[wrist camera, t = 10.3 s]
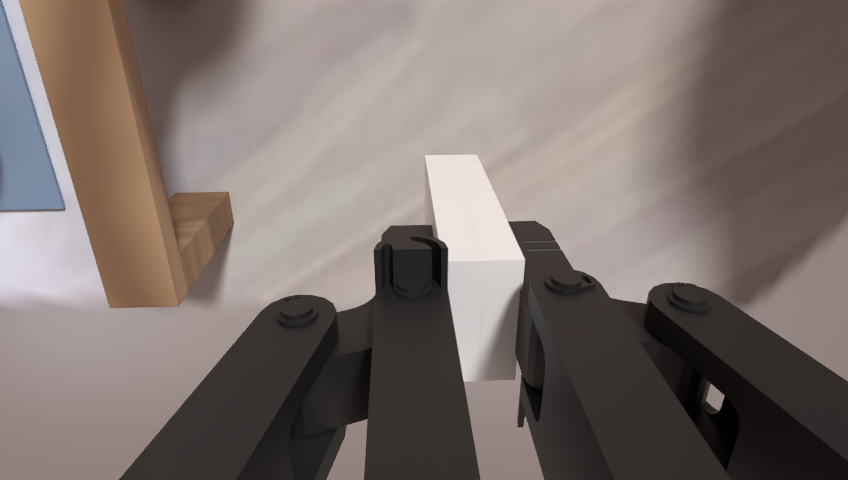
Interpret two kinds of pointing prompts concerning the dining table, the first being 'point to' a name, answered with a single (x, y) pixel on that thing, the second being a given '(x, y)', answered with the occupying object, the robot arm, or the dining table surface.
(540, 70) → the dining table surface
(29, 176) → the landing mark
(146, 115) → the bridge
